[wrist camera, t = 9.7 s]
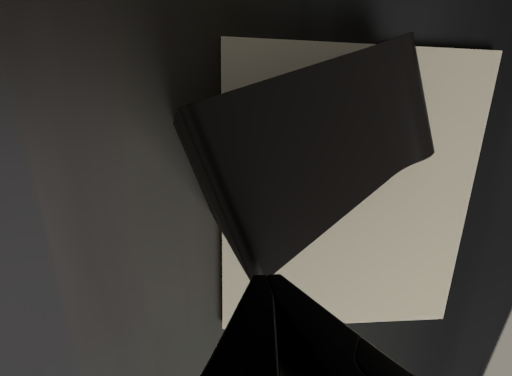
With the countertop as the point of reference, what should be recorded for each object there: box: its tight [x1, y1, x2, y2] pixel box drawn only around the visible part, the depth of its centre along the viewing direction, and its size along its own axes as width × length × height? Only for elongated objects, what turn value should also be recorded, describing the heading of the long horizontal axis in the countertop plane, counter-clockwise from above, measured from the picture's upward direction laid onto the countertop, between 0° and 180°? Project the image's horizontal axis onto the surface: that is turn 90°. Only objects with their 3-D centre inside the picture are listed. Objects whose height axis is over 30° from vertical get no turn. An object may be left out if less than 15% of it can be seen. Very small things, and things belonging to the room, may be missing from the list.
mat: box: [221, 36, 502, 329], centre depth 18 cm, size 16×18×1 cm
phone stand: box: [173, 32, 435, 280], centre depth 14 cm, size 9×6×12 cm
